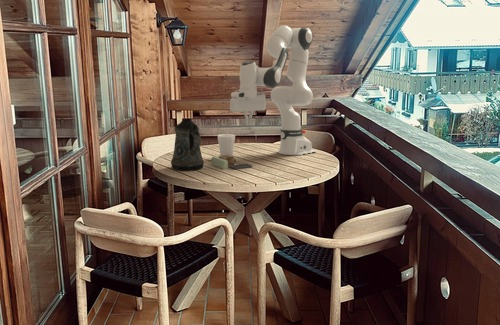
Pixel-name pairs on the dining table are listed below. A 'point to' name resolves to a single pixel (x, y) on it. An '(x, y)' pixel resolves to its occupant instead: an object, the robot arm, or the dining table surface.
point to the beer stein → (187, 147)
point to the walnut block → (228, 159)
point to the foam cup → (226, 144)
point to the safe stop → (220, 162)
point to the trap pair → (240, 166)
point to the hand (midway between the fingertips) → (248, 119)
